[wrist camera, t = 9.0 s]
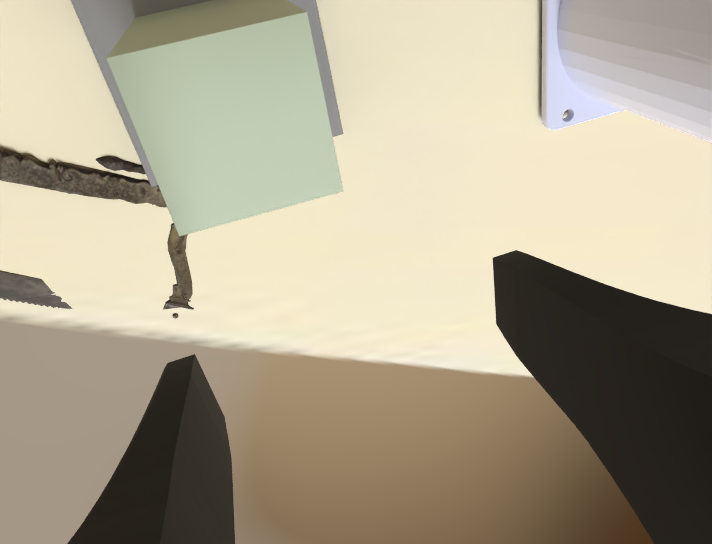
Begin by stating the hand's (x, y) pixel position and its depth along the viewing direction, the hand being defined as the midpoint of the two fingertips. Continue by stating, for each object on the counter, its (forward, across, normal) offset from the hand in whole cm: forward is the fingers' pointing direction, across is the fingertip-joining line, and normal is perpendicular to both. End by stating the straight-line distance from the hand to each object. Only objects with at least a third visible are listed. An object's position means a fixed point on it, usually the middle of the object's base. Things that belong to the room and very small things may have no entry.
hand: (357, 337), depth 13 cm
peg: (+9, +1, -5) cm, 10 cm away
